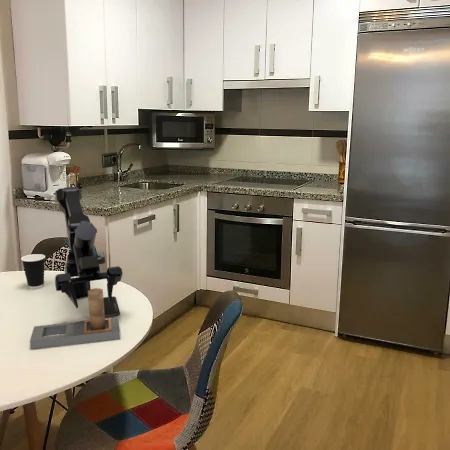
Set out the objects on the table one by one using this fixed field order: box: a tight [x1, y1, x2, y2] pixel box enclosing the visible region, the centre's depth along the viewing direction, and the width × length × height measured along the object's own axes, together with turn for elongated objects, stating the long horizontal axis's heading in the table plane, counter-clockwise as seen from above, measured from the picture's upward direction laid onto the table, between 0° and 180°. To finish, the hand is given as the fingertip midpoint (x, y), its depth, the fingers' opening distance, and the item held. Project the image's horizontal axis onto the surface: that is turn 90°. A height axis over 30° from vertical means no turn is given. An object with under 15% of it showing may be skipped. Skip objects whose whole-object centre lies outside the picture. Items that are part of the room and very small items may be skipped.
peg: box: [87, 287, 106, 331], centre depth 133 cm, size 4×4×13 cm
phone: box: [103, 295, 121, 319], centre depth 153 cm, size 8×1×15 cm
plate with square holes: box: [29, 317, 121, 350], centre depth 133 cm, size 23×9×3 cm, turn 105°
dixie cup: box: [20, 253, 46, 290], centre depth 170 cm, size 8×8×11 cm
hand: (94, 304), depth 137 cm, fingers open, 9 cm apart
